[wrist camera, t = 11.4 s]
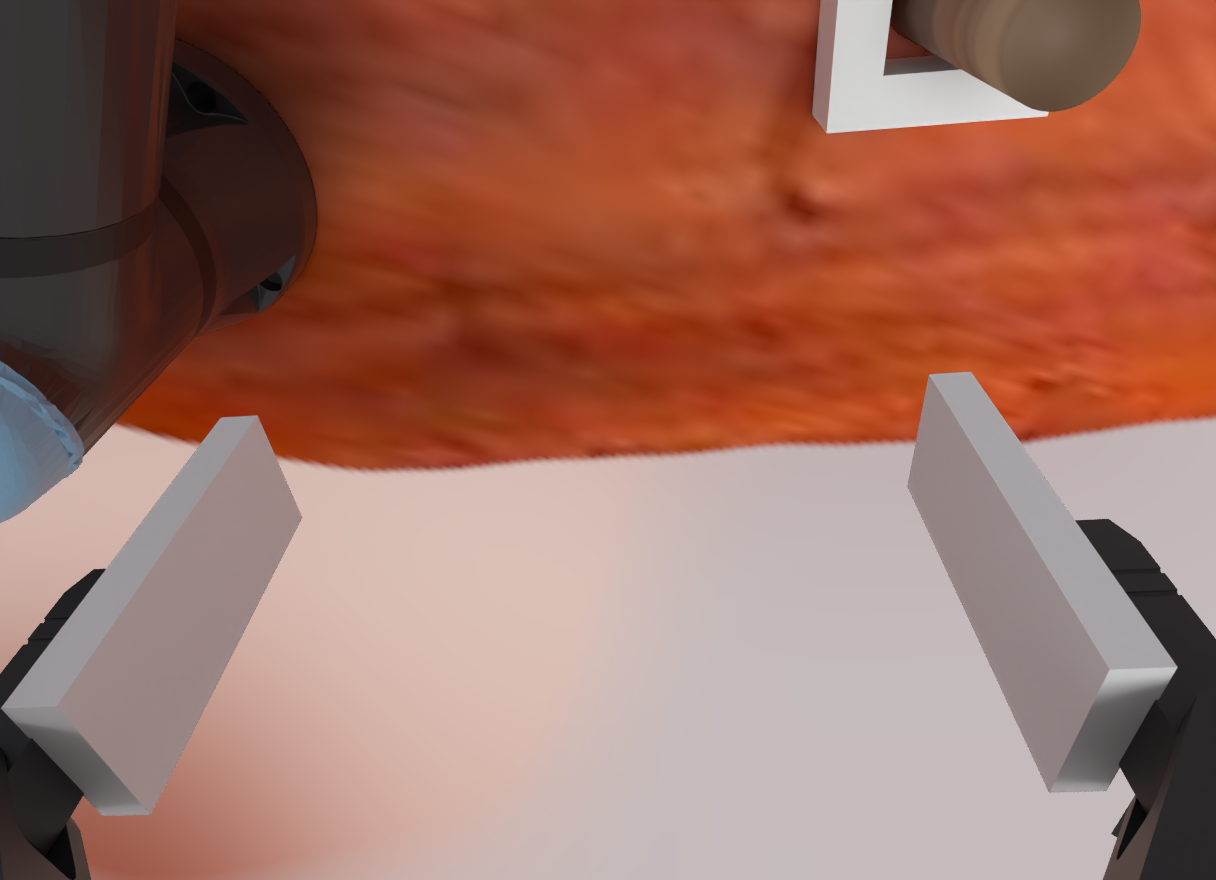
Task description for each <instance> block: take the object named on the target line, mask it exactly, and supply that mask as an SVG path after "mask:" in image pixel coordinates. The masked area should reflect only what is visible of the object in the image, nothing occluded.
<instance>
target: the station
mask: <svg viewBox="0 0 1216 880" xmlns="http://www.w3.org/2000/svg"><path fill="white" fill-rule="evenodd" d="M892 1H893V0H821V1H820V15H819V28H818V42H817V56H816V69H815V83H814V96H813V110H812V115H813V117H814V118H815V119H816V120H817V122H818V123H819V124H820V126H821V127H822V128H823V129H824V131H825V132H826V133H837V132H850V131H863V130H876V129H889V128H902V127H915V126H927V125H940V124H953V123H966V122H979V121H992V120H1004V119H1017V118H1030V117H1043V116H1048V112H1046V111H1038V110H1035V109H1031V108H1029V107H1027V106H1025V105H1023V104H1021V103H1020V102H1018V101H1016V100H1014V99H1013V98H1011V97H1009V96H1007V95H1005V94H1004V93H1002V92H1000V91H998V90H997V89H995V88H993V87H991V86H990V85H988V84H986V83H984V82H983V81H981V80H979V79H977V78H976V77H974V76H972V75H970V74H968V73H967V72H965V71H963V70H961V69H960V68H958V67H956V66H954V65H953V64H951V63H949V62H947V61H946V60H944V59H942V58H940V57H938V56H937V55H929V56H917V57H905V58H894V59H885V58H886V50H887V41H888V33H889V25H890V17H891V9H892Z"/></svg>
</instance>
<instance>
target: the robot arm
mask: <svg viewBox="0 0 1216 880" xmlns="http://www.w3.org/2000/svg"><path fill="white" fill-rule="evenodd" d="M177 7H178V0H0V523H1V522H3V521H6V520H8V519H10V518H12V517H14V516H16V515H17V514H19V513H20V512H22V511H24V510H25V509H26V508H28V507H29V506H30V505H31V504H32V503H33V502H35V501H36V500H37V499H38V498H39V497H41V496H42V495H43V494H45V493H46V492H47V491H48V490H50V489H51V488H52V487H53V486H54V485H56V484H57V483H58V482H60V481H61V480H62V479H64V478H66V477H68V476H69V475H70V474H72V473H73V472H74V471H75V470H76V469H77V468H78V467H79V465H80V464H81V463H82V458H83V456H84V455H85V454H86V453H87V452H88V451H89V450H90V449H91V448H92V447H93V445H95V443H96V442H97V441H98V440H99V439H100V438H101V437H102V436H103V435H104V434H105V433H106V432H107V430H108V429H109V428H110V427H111V426H112V425H113V424H114V423H115V422H116V421H117V420H118V419H119V418H120V417H121V416H122V414H123V413H124V412H125V411H126V410H127V409H128V408H129V407H130V406H131V405H132V404H133V403H134V402H135V401H136V399H137V398H138V397H139V396H140V395H141V394H142V393H143V392H144V391H145V390H146V389H147V388H148V387H149V386H150V384H151V383H152V382H153V381H154V380H155V379H156V378H157V377H158V376H159V375H160V374H161V373H162V372H163V370H164V369H165V368H166V367H167V366H168V365H169V364H170V363H171V362H172V361H173V360H174V359H175V358H176V357H177V355H178V354H179V353H180V352H181V351H182V350H183V349H184V348H185V347H186V346H187V344H188V343H189V342H190V341H191V340H192V339H193V338H195V337H198V336H201V335H204V334H207V333H210V332H213V331H216V330H219V329H222V328H225V327H228V326H231V325H234V324H237V323H240V322H243V321H246V320H248V319H250V318H252V317H254V316H256V315H258V314H260V313H261V312H263V311H264V310H266V309H267V308H269V307H270V306H271V305H273V304H274V303H275V302H276V301H277V300H278V299H279V298H280V297H281V296H282V295H283V294H284V293H285V292H286V290H287V289H288V288H289V287H290V286H291V285H292V283H293V282H294V281H295V280H296V279H297V277H298V276H299V275H300V273H301V272H302V270H303V269H304V267H305V265H306V263H307V261H308V259H309V256H310V254H311V251H312V247H313V244H314V239H315V233H316V218H317V215H316V202H315V195H314V190H313V185H312V182H311V178H310V175H309V172H308V169H307V166H306V163H305V161H304V159H303V156H302V154H301V152H300V150H299V148H298V146H297V144H296V142H295V140H294V139H293V137H292V135H291V133H290V132H289V130H288V129H287V127H286V126H285V124H284V123H283V121H282V120H281V119H280V117H279V116H278V115H277V113H276V112H275V111H274V109H273V108H272V107H271V106H270V105H269V104H268V102H267V101H266V100H265V99H264V98H263V97H262V96H261V95H260V94H259V93H258V92H257V91H256V90H255V89H254V88H253V87H252V86H251V85H250V84H249V83H248V82H247V81H245V80H244V79H243V78H242V77H241V76H240V75H238V74H237V73H236V72H234V71H233V70H232V69H230V68H229V67H228V66H226V65H225V64H223V63H222V62H220V61H219V60H217V59H216V58H214V57H212V56H211V55H209V54H207V53H206V52H204V51H202V50H200V49H198V48H196V47H194V46H192V45H189V44H187V43H185V42H182V41H180V40H177V39H175V28H176V18H177ZM908 489H909V491H910V493H911V495H912V497H913V499H914V502H915V504H916V506H917V508H918V510H919V512H920V514H921V517H922V519H923V521H924V523H925V525H926V528H927V530H928V532H929V534H930V536H931V538H932V540H933V543H934V545H935V547H936V549H937V551H938V553H939V555H940V558H941V560H942V562H943V564H944V566H945V569H946V571H947V573H948V575H949V577H950V579H951V581H952V584H953V586H954V588H955V590H956V592H957V595H958V597H959V599H960V601H961V603H962V605H963V607H964V610H965V612H966V614H967V616H968V618H969V620H970V623H971V625H972V627H973V629H974V631H975V633H976V635H977V638H978V639H979V642H980V644H981V646H982V648H983V651H984V653H985V655H986V657H987V659H988V661H989V663H990V666H991V668H992V670H993V672H994V674H995V677H996V679H997V681H998V683H999V685H1000V687H1001V690H1002V692H1003V694H1004V696H1005V698H1006V700H1007V703H1008V705H1009V707H1010V709H1011V711H1012V713H1013V715H1014V718H1015V720H1016V722H1017V724H1018V726H1019V728H1020V730H1021V733H1022V735H1023V737H1024V739H1025V741H1026V743H1027V746H1028V748H1029V750H1030V752H1031V754H1032V756H1033V759H1034V761H1035V763H1036V765H1037V767H1038V770H1039V771H1040V774H1041V776H1042V778H1043V780H1044V782H1045V784H1046V787H1047V789H1048V791H1049V792H1086V791H1088V792H1089V791H1106V790H1107V789H1108V787H1109V785H1110V784H1111V782H1112V780H1113V778H1114V777H1115V775H1116V773H1117V771H1118V770H1119V768H1121V770H1122V772H1123V773H1124V775H1125V777H1126V779H1127V780H1128V782H1129V784H1130V786H1131V788H1132V790H1133V791H1134V793H1135V796H1134V798H1133V800H1132V801H1131V803H1130V804H1129V806H1128V808H1127V809H1126V811H1125V813H1124V814H1123V816H1122V818H1121V819H1120V821H1119V822H1118V824H1117V825H1116V827H1115V829H1114V830H1113V832H1112V834H1113V835H1114V836H1116V837H1118V838H1117V841H1116V844H1115V846H1114V849H1113V852H1112V855H1111V858H1110V861H1109V864H1108V867H1107V869H1106V872H1105V875H1104V878H1103V880H1216V639H1215V638H1214V636H1213V635H1212V634H1211V632H1210V631H1209V630H1208V628H1207V627H1206V626H1205V625H1204V623H1203V622H1202V621H1201V619H1200V618H1199V617H1198V616H1197V614H1196V613H1195V612H1194V611H1193V609H1192V608H1191V607H1190V605H1189V604H1188V603H1187V601H1186V600H1185V599H1184V597H1183V596H1182V595H1178V594H1177V588H1175V586H1174V585H1173V583H1172V582H1171V581H1170V579H1169V578H1168V577H1167V576H1166V575H1165V573H1161V571H1160V567H1159V565H1158V564H1157V563H1156V562H1155V560H1154V559H1153V558H1152V556H1151V555H1150V554H1149V553H1148V551H1147V550H1146V549H1145V547H1144V546H1143V545H1142V543H1141V542H1140V541H1139V540H1137V539H1136V538H1134V537H1133V536H1132V535H1130V534H1129V533H1127V532H1126V531H1125V530H1123V529H1122V528H1120V527H1119V526H1118V525H1116V524H1115V523H1113V522H1112V521H1111V520H1109V519H1097V520H1078V521H1077V520H1076V521H1075V520H1074V519H1073V517H1072V516H1071V514H1070V513H1069V511H1068V510H1067V508H1066V507H1065V506H1064V504H1063V503H1062V501H1061V500H1060V498H1059V497H1058V496H1057V494H1056V493H1055V491H1054V490H1053V488H1052V487H1051V486H1050V484H1049V483H1048V481H1047V480H1046V478H1045V477H1044V476H1043V474H1042V473H1041V472H1040V470H1039V469H1038V467H1037V466H1036V464H1035V463H1034V461H1033V460H1032V458H1031V457H1030V456H1029V454H1028V453H1027V451H1026V450H1025V448H1024V447H1023V446H1022V444H1021V443H1020V441H1019V440H1018V438H1017V437H1016V436H1015V434H1014V433H1013V431H1012V430H1011V428H1010V427H1009V426H1008V424H1007V423H1006V421H1005V420H1004V418H1003V417H1002V416H1001V414H1000V413H999V411H998V410H997V408H996V407H995V406H994V404H993V403H992V401H991V400H990V398H989V397H988V396H987V394H986V393H985V391H984V390H983V388H982V387H981V386H980V384H979V383H978V381H977V380H976V378H975V377H974V376H973V374H972V373H971V372H959V373H943V374H929V378H928V383H927V388H926V393H925V398H924V403H923V409H922V414H921V419H920V424H919V429H918V434H917V439H916V445H915V450H914V455H913V460H912V465H911V471H910V476H909V481H908ZM301 519H302V516H301V514H300V511H299V509H298V507H297V505H296V502H295V500H294V498H293V495H292V493H291V491H290V489H289V487H288V484H287V482H286V479H285V477H284V475H283V473H282V470H281V468H280V466H279V463H278V461H277V459H276V457H275V454H274V452H273V450H272V447H271V445H270V443H269V441H268V438H267V436H266V434H265V431H264V429H263V427H262V425H261V422H260V420H259V418H258V415H257V416H241V417H224V418H220V419H219V421H218V422H217V423H216V425H215V426H214V427H213V429H212V430H211V431H210V433H209V434H208V435H207V437H206V438H205V439H204V440H203V442H202V443H201V444H200V446H199V447H198V448H197V450H196V451H195V452H194V454H193V455H192V456H191V458H190V459H189V460H188V462H187V463H186V464H185V466H184V467H183V468H182V470H181V471H180V472H179V474H178V475H177V476H176V478H175V479H174V480H173V481H172V483H171V484H170V485H169V487H168V488H167V489H166V491H165V492H164V493H163V495H162V496H161V497H160V499H159V500H158V501H157V503H156V504H155V505H154V507H153V508H152V509H151V511H150V512H149V513H148V514H147V516H146V517H145V518H144V520H143V521H142V522H141V524H140V525H139V526H138V528H137V529H136V530H135V532H134V533H133V534H132V536H131V537H130V538H129V540H128V541H127V542H126V544H125V545H124V546H123V548H122V549H121V550H120V551H119V553H118V554H117V556H116V557H115V558H114V560H113V561H112V562H111V564H110V565H109V566H108V567H107V569H94V570H92V571H91V572H90V573H89V574H87V575H86V576H85V577H84V578H82V579H81V580H80V581H79V582H77V583H76V584H75V585H73V586H72V587H71V588H70V589H68V590H67V591H66V592H65V593H64V594H63V595H62V597H61V598H60V599H59V600H58V602H57V603H56V604H55V605H54V607H53V608H52V609H51V610H50V612H49V613H48V614H47V616H46V617H45V618H44V619H45V622H44V623H40V624H39V626H38V627H37V628H36V629H35V631H34V632H33V633H32V634H31V636H30V637H29V638H28V644H26V645H23V646H22V647H21V648H20V650H19V651H18V652H17V654H16V655H15V656H14V657H13V658H12V660H11V661H10V662H9V664H8V665H7V666H6V667H5V669H4V670H3V671H2V673H1V674H0V880H91V877H90V873H89V868H88V863H87V859H86V855H85V850H84V846H83V841H82V837H81V833H80V830H79V828H78V827H77V825H76V823H75V822H74V820H73V819H72V818H71V815H72V813H73V811H74V810H75V808H76V806H77V805H78V803H79V801H80V800H81V798H82V796H84V797H85V798H86V799H87V800H88V801H89V802H90V803H91V804H92V805H93V806H94V807H95V808H96V809H97V811H98V812H99V813H100V814H101V815H102V816H111V815H112V816H116V815H150V814H151V813H152V811H153V809H154V807H155V805H156V803H157V801H158V799H159V797H160V795H161V793H162V791H163V789H164V787H165V785H166V784H167V782H168V780H169V778H170V776H171V774H172V772H173V770H174V768H175V766H176V764H177V762H178V760H179V758H180V756H181V754H182V752H183V750H184V748H185V746H186V744H187V742H188V740H189V738H190V737H191V734H192V732H193V731H194V728H195V727H196V725H197V723H198V721H199V719H200V717H201V715H202V713H203V711H204V709H205V707H206V705H207V703H208V701H209V699H210V697H211V695H212V693H213V691H214V689H215V687H216V685H217V684H218V682H219V680H220V678H221V676H222V674H223V672H224V670H225V668H226V666H227V664H228V662H229V660H230V658H231V656H232V654H233V652H234V650H235V648H236V646H237V644H238V642H239V640H240V638H241V637H242V635H243V633H244V631H245V629H246V627H247V625H248V623H249V621H250V619H251V617H252V615H253V613H254V611H255V609H256V607H257V605H258V603H259V601H260V599H261V597H262V595H263V593H264V591H265V589H266V587H267V586H268V583H269V582H270V580H271V578H272V575H273V574H274V572H275V570H276V568H277V566H278V564H279V562H280V560H281V558H282V556H283V554H284V552H285V550H286V548H287V546H288V544H289V542H290V540H291V539H292V536H293V535H294V533H295V531H296V529H297V526H298V525H299V523H300V521H301Z"/></svg>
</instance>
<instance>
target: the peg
mask: <svg viewBox="0 0 1216 880" xmlns="http://www.w3.org/2000/svg"><path fill="white" fill-rule="evenodd" d="M1140 23H1141V9H1140V4H1139V0H893V1H892V9H891V17H890V24H891V26H892V27H893V28H894V30H895V31H896V32H898V33H899V34H900V35H902V36H903V37H905V38H907V39H908V40H910V41H912V42H914V43H916V44H917V45H919V46H921V47H923V48H924V49H926V50H928V51H930V52H931V53H933V54H935V55H937V56H938V57H940V58H942V59H944V60H946V61H947V62H949V63H951V64H953V65H954V66H956V67H958V68H960V69H961V70H963V71H965V72H967V73H968V74H970V75H972V76H974V77H976V78H977V79H979V80H981V81H983V82H984V83H986V84H988V85H990V86H991V87H993V88H995V89H997V90H998V91H1000V92H1002V93H1004V94H1005V95H1007V96H1009V97H1011V98H1013V99H1014V100H1016V101H1018V102H1020V103H1021V104H1023V105H1025V106H1027V107H1029V108H1031V109H1035V110H1038V111H1046V112H1053V111H1061V110H1066V109H1069V108H1072V107H1075V106H1077V105H1080V104H1082V103H1084V102H1086V101H1088V100H1089V99H1091V98H1092V97H1094V96H1095V95H1097V94H1098V93H1100V92H1101V91H1102V90H1103V89H1105V88H1106V87H1107V86H1108V85H1109V84H1110V83H1111V82H1112V81H1113V80H1114V79H1115V77H1116V76H1117V75H1118V74H1119V73H1120V71H1121V70H1122V69H1123V67H1124V66H1125V64H1126V63H1127V61H1128V59H1129V58H1130V56H1131V54H1132V52H1133V49H1134V47H1135V44H1136V42H1137V39H1138V35H1139V30H1140Z"/></svg>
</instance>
